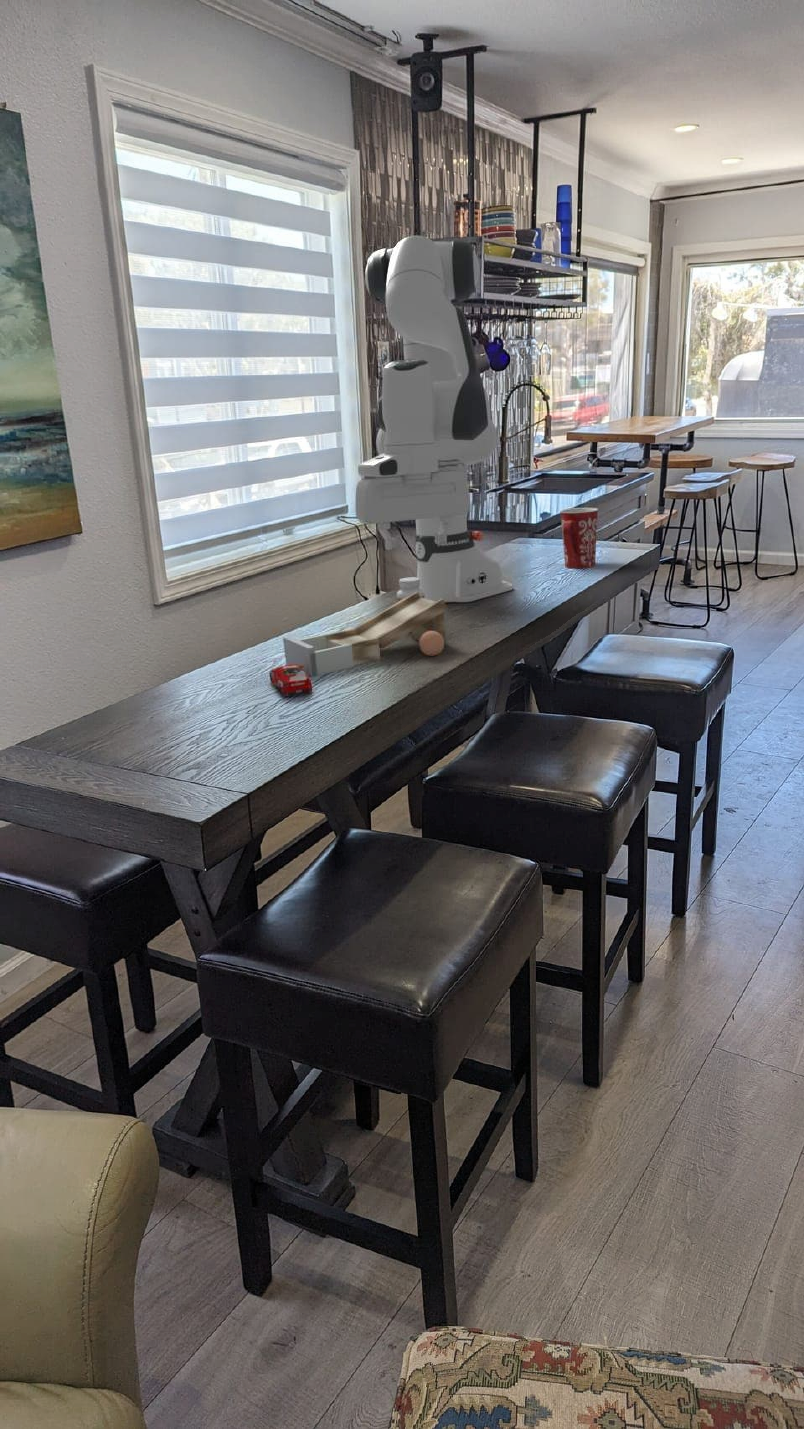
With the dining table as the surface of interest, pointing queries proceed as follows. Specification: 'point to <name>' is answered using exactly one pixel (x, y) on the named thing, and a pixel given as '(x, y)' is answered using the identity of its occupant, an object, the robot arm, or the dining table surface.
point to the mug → (579, 536)
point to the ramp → (391, 627)
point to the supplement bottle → (409, 588)
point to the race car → (290, 680)
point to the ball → (431, 643)
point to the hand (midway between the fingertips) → (416, 546)
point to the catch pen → (317, 655)
